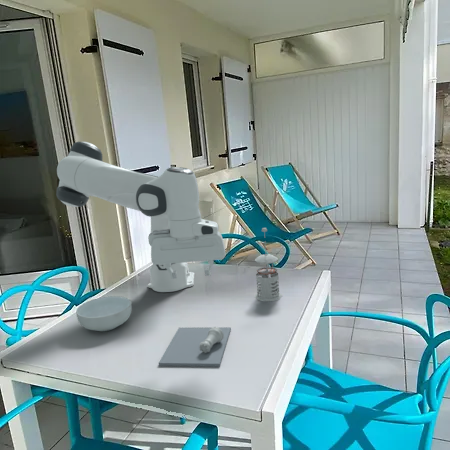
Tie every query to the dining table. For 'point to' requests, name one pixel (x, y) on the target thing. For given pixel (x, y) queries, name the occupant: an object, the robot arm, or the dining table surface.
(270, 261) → the french press
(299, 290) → the dining table surface
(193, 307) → the dining table surface
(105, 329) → the cereal bowl
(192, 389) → the dining table surface
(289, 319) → the dining table surface
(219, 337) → the rook chess piece
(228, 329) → the mat
